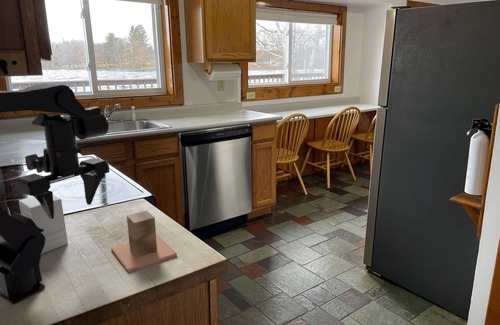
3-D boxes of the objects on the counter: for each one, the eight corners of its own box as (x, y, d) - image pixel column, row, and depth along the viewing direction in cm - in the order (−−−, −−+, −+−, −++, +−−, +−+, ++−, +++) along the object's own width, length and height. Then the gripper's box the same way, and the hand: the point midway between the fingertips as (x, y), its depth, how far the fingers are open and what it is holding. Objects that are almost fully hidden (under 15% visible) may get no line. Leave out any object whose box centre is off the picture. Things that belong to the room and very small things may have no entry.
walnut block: (137, 257, 87) (134, 223, 85) (129, 249, 91) (126, 215, 89) (157, 251, 90) (154, 217, 88) (149, 243, 94) (146, 210, 91)
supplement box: (55, 235, 99) (49, 191, 96) (68, 244, 95) (62, 198, 91) (26, 245, 94) (17, 199, 90) (38, 255, 89) (30, 207, 86)
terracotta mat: (128, 272, 83) (127, 269, 82) (111, 250, 92) (111, 247, 92) (176, 255, 90) (176, 252, 89) (156, 236, 99) (156, 234, 99)
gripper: (77, 132, 90) (85, 191, 95) (-6, 147, 75) (8, 218, 79) (107, 137, 85) (114, 200, 89) (25, 155, 69) (37, 230, 74)
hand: (71, 211), depth 83 cm, fingers open, 9 cm apart
